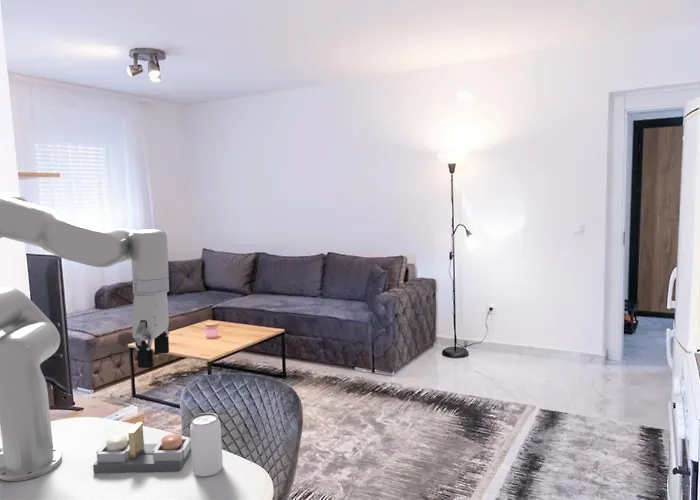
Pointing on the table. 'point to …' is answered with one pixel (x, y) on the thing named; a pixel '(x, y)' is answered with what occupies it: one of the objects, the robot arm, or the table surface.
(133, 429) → the thick plank
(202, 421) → the can
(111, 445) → the cream button
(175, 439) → the terracotta button
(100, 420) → the table surface
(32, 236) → the robot arm
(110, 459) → the panel
